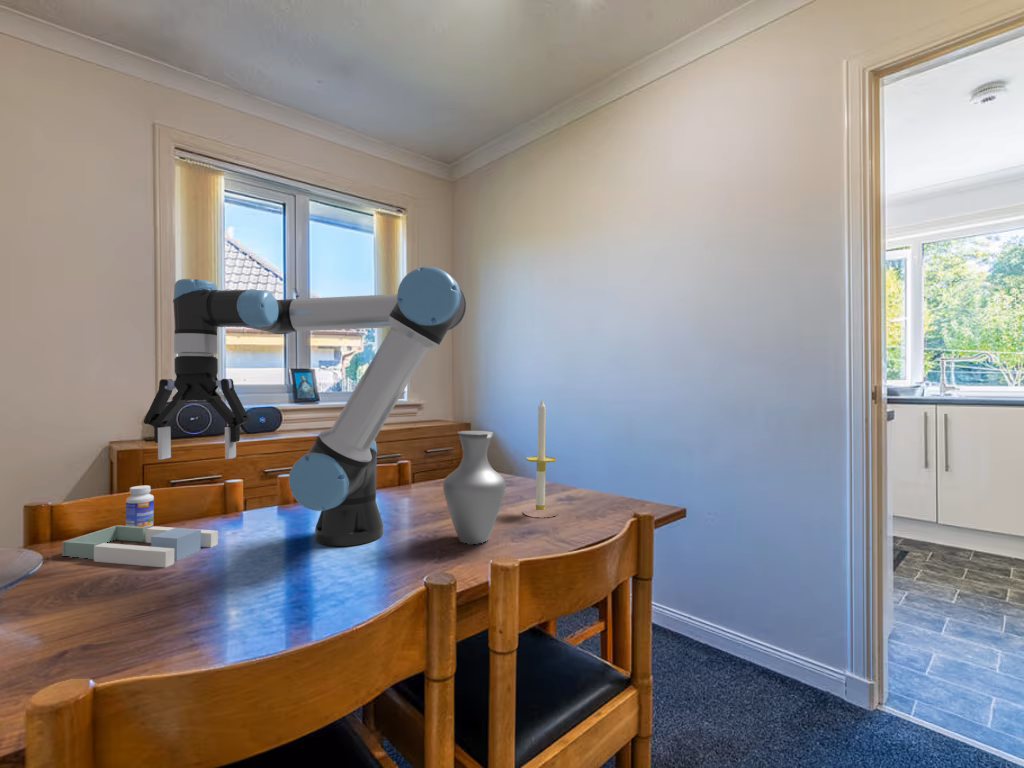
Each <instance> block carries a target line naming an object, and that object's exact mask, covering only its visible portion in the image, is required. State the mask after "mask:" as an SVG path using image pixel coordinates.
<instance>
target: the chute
mask: <svg viewBox="0 0 1024 768" xmlns="http://www.w3.org/2000/svg"><path fill="white" fill-rule="evenodd" d="M174 528H175V527H169V526H168V527H167V526H159V525H158V526H156V525H155V526H154V525H153V526H151V527H149V528H146V541H145V543H147V544H148V543H149V544H151V536H154V535H157V534H160V533H163V532H166V531H168V530H171V529H174ZM184 528H185V527H184ZM185 529H187V528H185ZM196 529H197V528H196ZM197 530H201V547H202V548H213V547H215V546H218V545H219V531H218V530H213V529H199V528H198V529H197ZM93 562H95V563H96V562H97V563H106V564H118V565H131V566H142V567H155V568H165V569H166V568H168V567H170V566H172V565H175V560H174V548H162V547H151V546H150V545H149V546H147V545H137V544H136V545H135V544H121V543H112V542H108V543H102V544H99V545H96V546H94V559H93Z"/></svg>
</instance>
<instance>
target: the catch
mask: <svg viewBox="0 0 1024 768" xmlns="http://www.w3.org/2000/svg"><path fill="white" fill-rule="evenodd" d="M146 529H147V528H146V527H136V526H126V525H121V524H117V525H113V526H110V527H107V528H103V529H99V530H96V531H94V532H90V533H87V534H83V535H80V536H76V537H74V538H70V539H67V540H64V541H62V544H61V557H62V556H70V557H69V558H72V557H79V558H78V559H84V558H88V559H87V560H94V546H96V545H99V544H102V543H107V542H108V543H111V542H114V541H118V540H119V541H126V542H127V541H129V542H140V543H144V542H146ZM116 539H117V540H116ZM113 540H114V541H113ZM110 541H111V542H110Z"/></svg>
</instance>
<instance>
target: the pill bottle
mask: <svg viewBox="0 0 1024 768" xmlns="http://www.w3.org/2000/svg"><path fill="white" fill-rule="evenodd" d="M151 491H152V490H151V485H146V484H145V485H136V486H131V487H129V496H128V497H127V498H126V500H125V526H136V527H146V529H147V528H150V527H153V526H154V520H155V519H154V517H155V513H154V510H155V508H154V507H155V505H154V504H155V496H154V495H153V494H151Z"/></svg>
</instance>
